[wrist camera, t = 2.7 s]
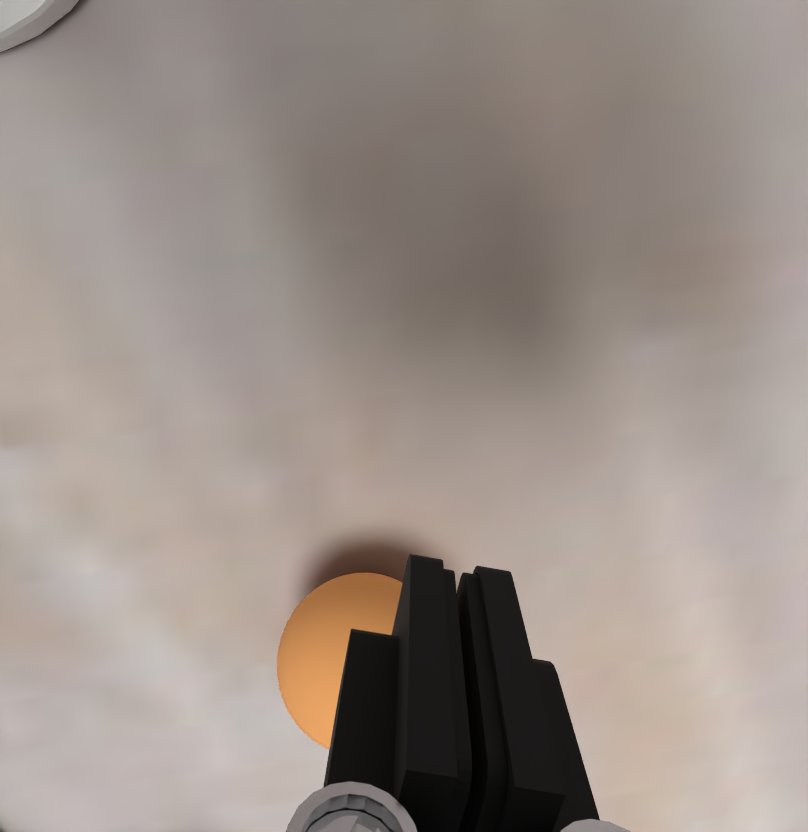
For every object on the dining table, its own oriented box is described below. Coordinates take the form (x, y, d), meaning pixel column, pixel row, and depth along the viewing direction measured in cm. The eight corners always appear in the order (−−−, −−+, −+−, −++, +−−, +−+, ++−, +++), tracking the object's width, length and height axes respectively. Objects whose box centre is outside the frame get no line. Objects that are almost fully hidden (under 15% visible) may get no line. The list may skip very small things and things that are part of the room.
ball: (303, 529, 23) (269, 638, 18) (456, 554, 24) (471, 669, 18) (285, 652, 25) (250, 784, 20) (426, 673, 26) (431, 809, 20)
